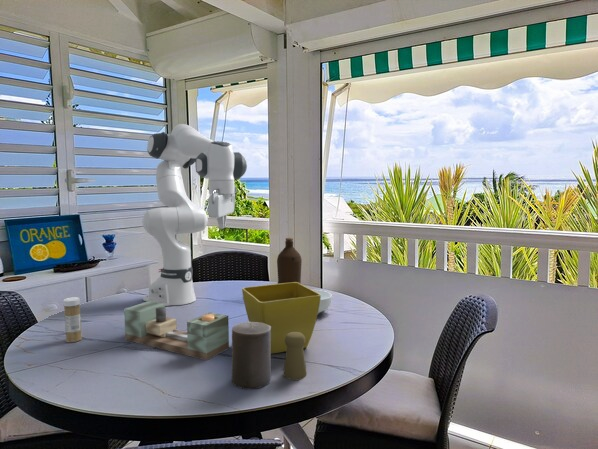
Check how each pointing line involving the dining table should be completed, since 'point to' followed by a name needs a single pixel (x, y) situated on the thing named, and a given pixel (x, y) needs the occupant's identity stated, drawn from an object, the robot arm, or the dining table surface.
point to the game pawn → (295, 356)
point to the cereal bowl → (324, 300)
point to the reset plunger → (208, 317)
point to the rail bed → (178, 332)
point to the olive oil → (289, 264)
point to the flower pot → (283, 310)
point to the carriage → (161, 323)
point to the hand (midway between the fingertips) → (222, 228)
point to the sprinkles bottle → (72, 319)
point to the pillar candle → (251, 355)
